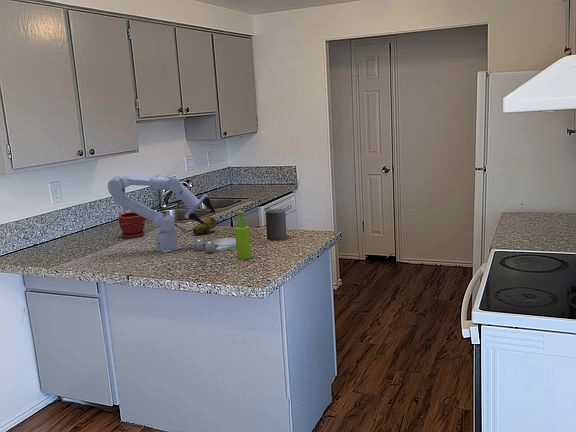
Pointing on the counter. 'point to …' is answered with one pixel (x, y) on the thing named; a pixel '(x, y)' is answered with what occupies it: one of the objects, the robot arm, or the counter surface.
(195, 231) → the potato
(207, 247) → the cylinder
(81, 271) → the counter surface
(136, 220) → the plant pot
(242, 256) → the soap dispenser
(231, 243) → the scale
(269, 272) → the counter surface
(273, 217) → the pillar candle
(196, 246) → the cylinder
